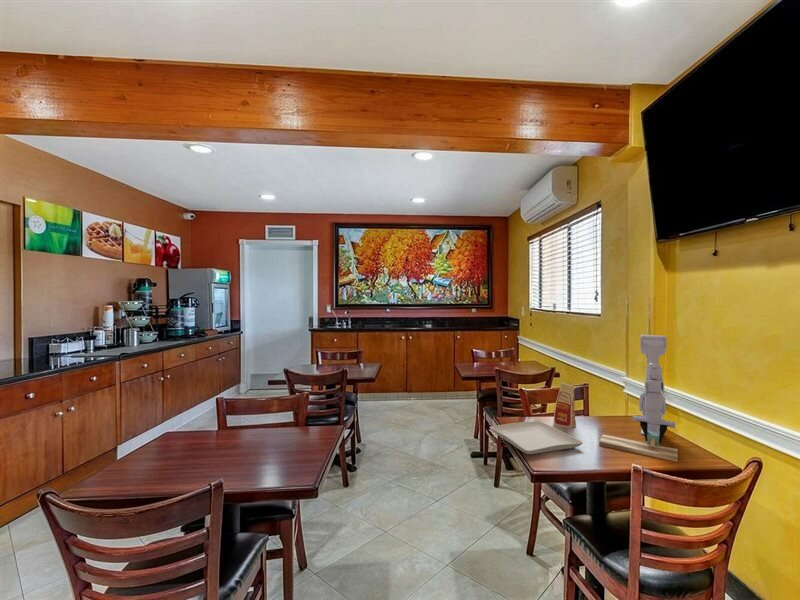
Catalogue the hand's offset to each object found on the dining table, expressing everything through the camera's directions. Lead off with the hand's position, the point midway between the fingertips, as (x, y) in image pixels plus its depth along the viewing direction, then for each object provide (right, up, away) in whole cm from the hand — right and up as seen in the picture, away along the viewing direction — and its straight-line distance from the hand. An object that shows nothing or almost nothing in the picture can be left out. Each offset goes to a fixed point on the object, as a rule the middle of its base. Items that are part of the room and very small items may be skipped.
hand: (653, 441), depth 156 cm
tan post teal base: (-2, -2, -3) cm, 4 cm away
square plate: (-48, -2, +4) cm, 48 cm away
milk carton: (-25, -1, +25) cm, 36 cm away
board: (-9, -2, -4) cm, 10 cm away
